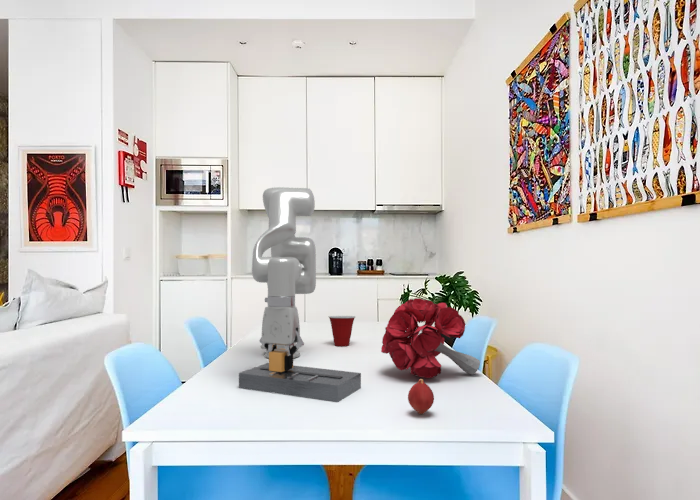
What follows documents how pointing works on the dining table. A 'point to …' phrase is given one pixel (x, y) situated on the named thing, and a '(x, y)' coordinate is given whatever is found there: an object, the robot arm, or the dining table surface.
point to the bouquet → (425, 338)
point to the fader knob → (277, 360)
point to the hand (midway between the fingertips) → (281, 367)
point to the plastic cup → (341, 329)
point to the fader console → (302, 382)
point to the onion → (420, 397)
